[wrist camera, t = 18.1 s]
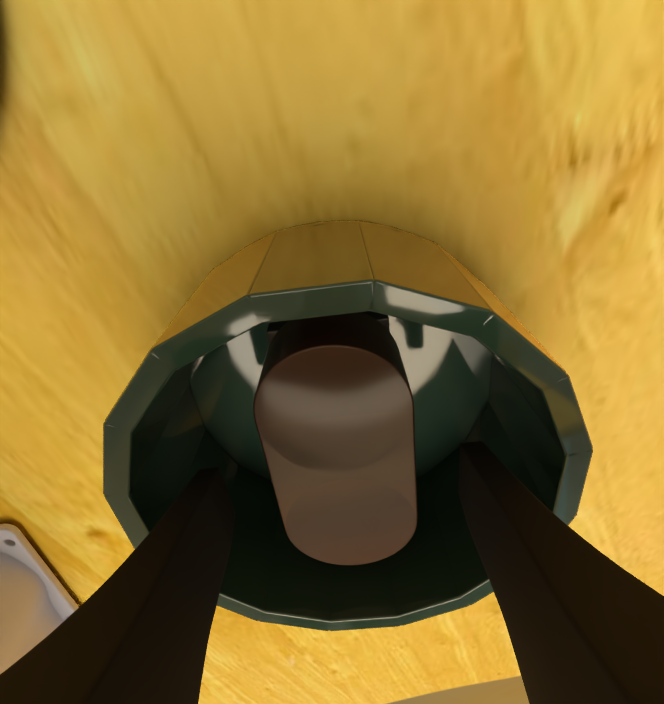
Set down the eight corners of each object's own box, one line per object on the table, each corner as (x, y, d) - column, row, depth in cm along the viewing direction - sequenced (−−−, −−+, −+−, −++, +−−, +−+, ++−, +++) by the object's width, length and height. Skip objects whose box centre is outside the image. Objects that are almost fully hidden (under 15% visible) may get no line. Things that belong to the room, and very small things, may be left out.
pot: (492, 482, 19) (551, 616, 14) (224, 507, 20) (187, 642, 15) (520, 195, 13) (647, 246, 8) (127, 246, 14) (2, 323, 9)
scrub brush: (400, 468, 18) (419, 561, 14) (302, 477, 18) (295, 570, 15) (389, 275, 14) (412, 335, 10) (261, 290, 14) (235, 355, 10)
